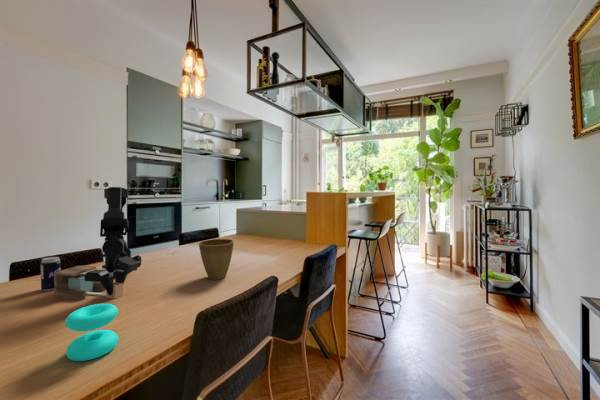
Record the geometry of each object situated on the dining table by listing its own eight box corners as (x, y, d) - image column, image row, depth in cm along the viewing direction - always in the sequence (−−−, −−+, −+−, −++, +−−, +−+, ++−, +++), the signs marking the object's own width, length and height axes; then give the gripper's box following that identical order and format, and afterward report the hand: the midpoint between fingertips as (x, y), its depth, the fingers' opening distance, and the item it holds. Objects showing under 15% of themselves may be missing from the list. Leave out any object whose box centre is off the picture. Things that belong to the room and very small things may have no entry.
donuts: (100, 299, 72) (127, 305, 68) (101, 336, 72) (127, 344, 68) (55, 315, 62) (82, 323, 59) (56, 357, 63) (83, 368, 59)
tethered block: (81, 290, 103) (81, 273, 103) (124, 294, 101) (124, 276, 100) (68, 295, 98) (68, 278, 98) (113, 299, 96) (113, 281, 95)
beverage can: (49, 292, 102) (48, 260, 101) (37, 291, 103) (36, 259, 102) (64, 287, 107) (64, 257, 107) (53, 285, 108) (52, 256, 108)
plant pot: (221, 270, 132) (221, 237, 131) (240, 276, 122) (240, 241, 122) (192, 277, 120) (192, 241, 120) (211, 285, 111) (211, 246, 110)
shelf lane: (78, 288, 106) (78, 265, 106) (105, 290, 104) (105, 267, 104) (54, 297, 97) (54, 272, 97) (83, 299, 95) (83, 274, 95)
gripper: (112, 257, 87) (113, 305, 88) (152, 246, 106) (152, 285, 106) (82, 256, 89) (83, 302, 90) (127, 244, 107) (127, 283, 108)
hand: (115, 292), depth 98 cm, fingers closed on tethered block, 3 cm apart
